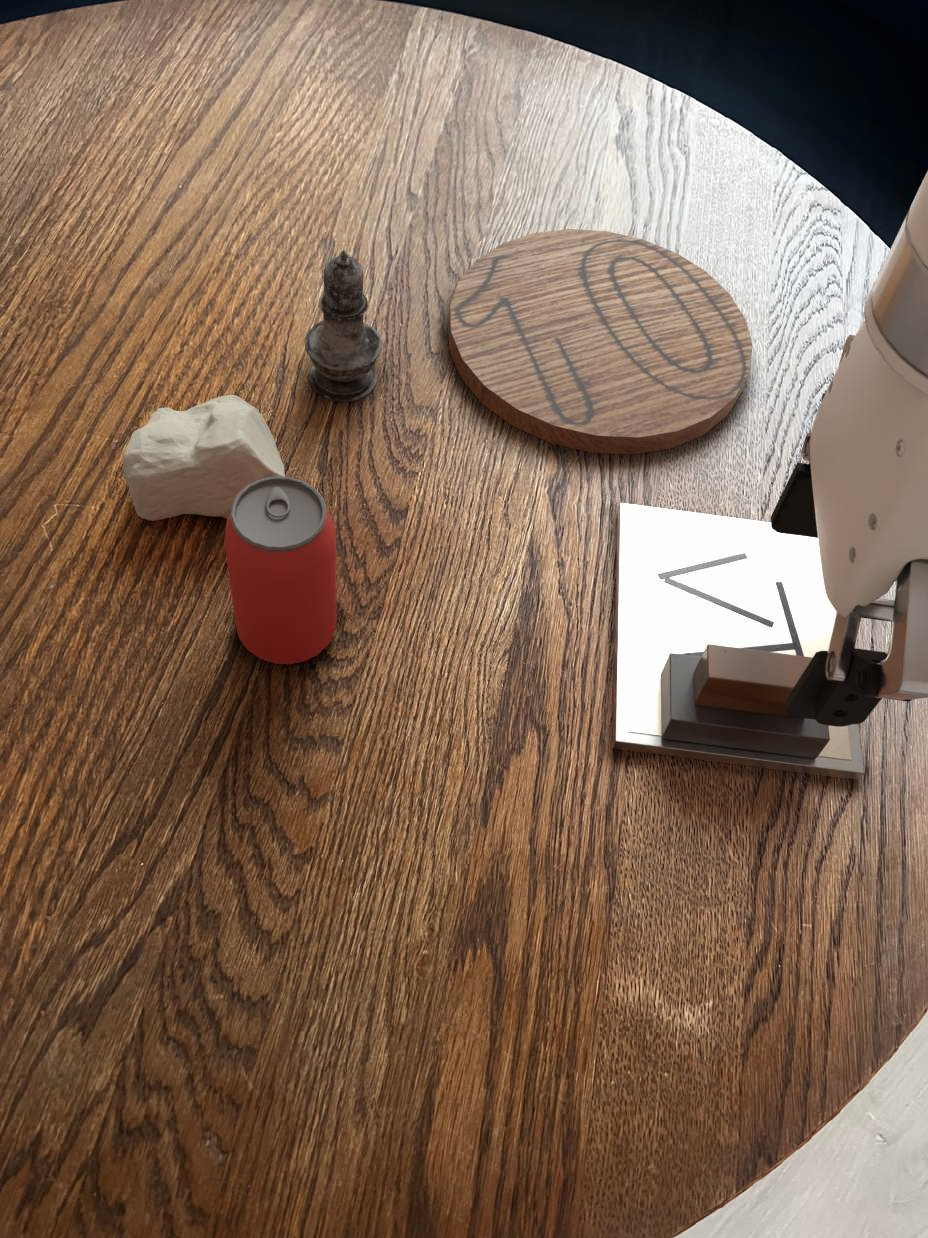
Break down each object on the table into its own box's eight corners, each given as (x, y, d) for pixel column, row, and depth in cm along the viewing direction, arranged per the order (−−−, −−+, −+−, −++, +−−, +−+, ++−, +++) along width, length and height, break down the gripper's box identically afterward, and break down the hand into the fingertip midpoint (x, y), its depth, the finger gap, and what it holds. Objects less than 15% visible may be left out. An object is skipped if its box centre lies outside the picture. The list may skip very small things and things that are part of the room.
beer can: (331, 583, 77) (329, 464, 68) (342, 664, 74) (342, 551, 64) (233, 591, 76) (217, 472, 66) (239, 674, 73) (223, 560, 63)
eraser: (810, 692, 75) (842, 644, 70) (816, 759, 72) (850, 713, 67) (660, 672, 74) (682, 623, 70) (661, 739, 72) (684, 692, 67)
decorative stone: (263, 396, 85) (283, 372, 75) (278, 518, 85) (299, 509, 76) (112, 406, 81) (113, 382, 72) (128, 532, 82) (131, 525, 72)
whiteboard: (858, 780, 72) (865, 772, 71) (612, 748, 72) (615, 740, 71) (830, 539, 84) (835, 529, 83) (617, 511, 84) (620, 501, 83)
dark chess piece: (290, 380, 88) (283, 252, 78) (337, 341, 91) (336, 213, 81) (349, 415, 87) (351, 289, 77) (395, 374, 90) (402, 248, 80)
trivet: (529, 489, 84) (532, 472, 82) (400, 279, 96) (401, 261, 95) (804, 409, 91) (812, 392, 90) (652, 224, 104) (657, 206, 102)
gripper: (1199, 534, 30) (925, 810, 44) (1062, 156, 40) (874, 480, 54) (920, 497, 30) (734, 786, 44) (853, 127, 40) (719, 459, 54)
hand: (812, 617), depth 49 cm, fingers open, 9 cm apart
